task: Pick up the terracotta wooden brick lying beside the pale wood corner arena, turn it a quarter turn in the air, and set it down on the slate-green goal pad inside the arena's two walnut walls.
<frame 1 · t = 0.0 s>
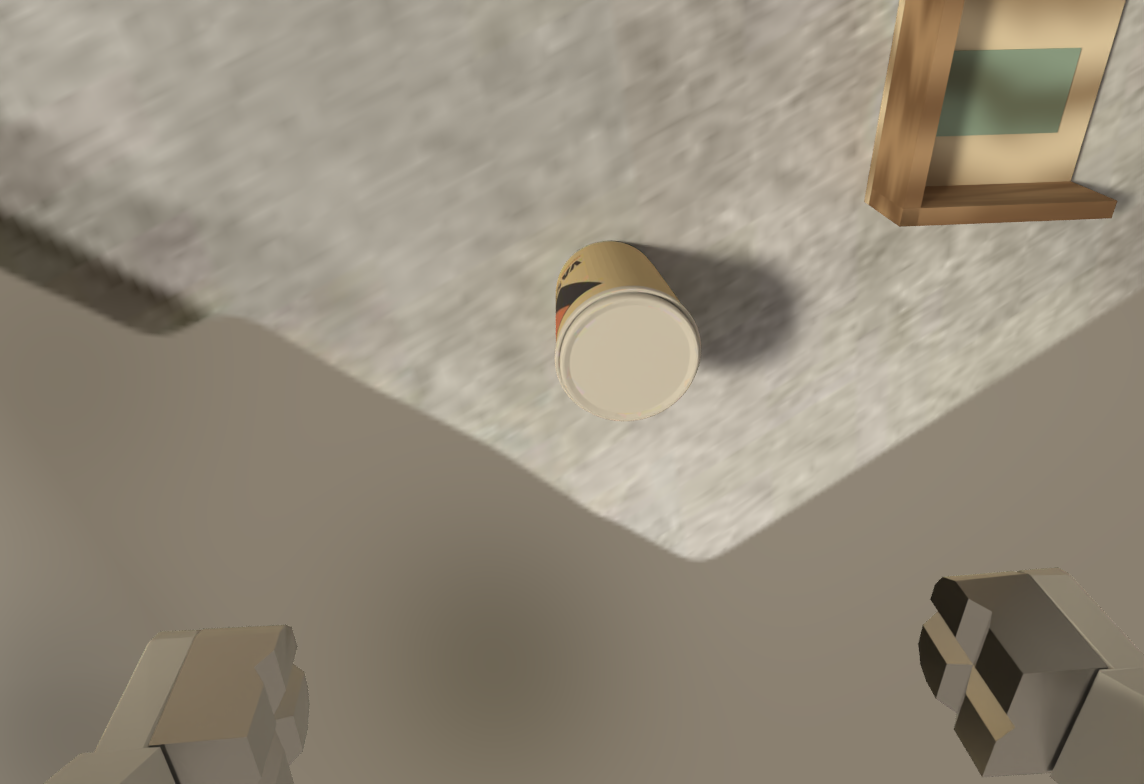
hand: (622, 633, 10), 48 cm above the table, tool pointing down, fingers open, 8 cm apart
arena: (989, 83, 54), on the table
coffee cup: (606, 287, 60), on the table
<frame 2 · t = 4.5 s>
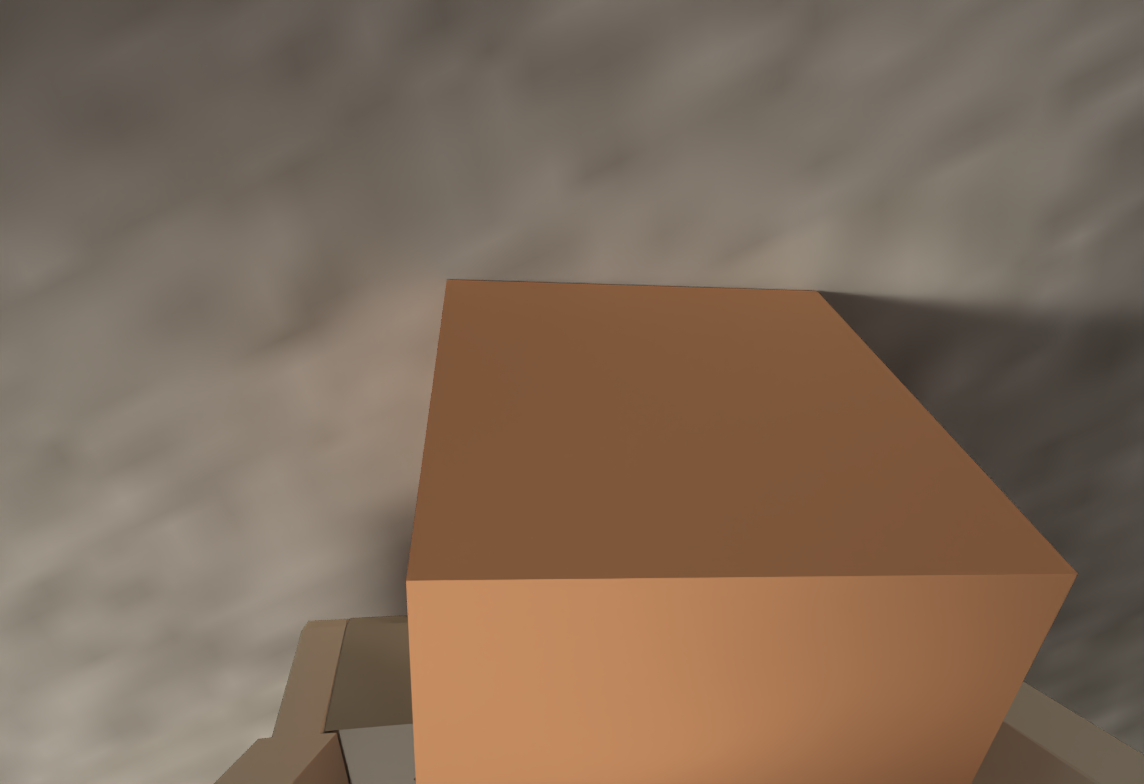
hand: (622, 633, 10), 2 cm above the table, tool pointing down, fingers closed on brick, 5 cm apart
brick: (606, 543, 11), on the table, touching gripper
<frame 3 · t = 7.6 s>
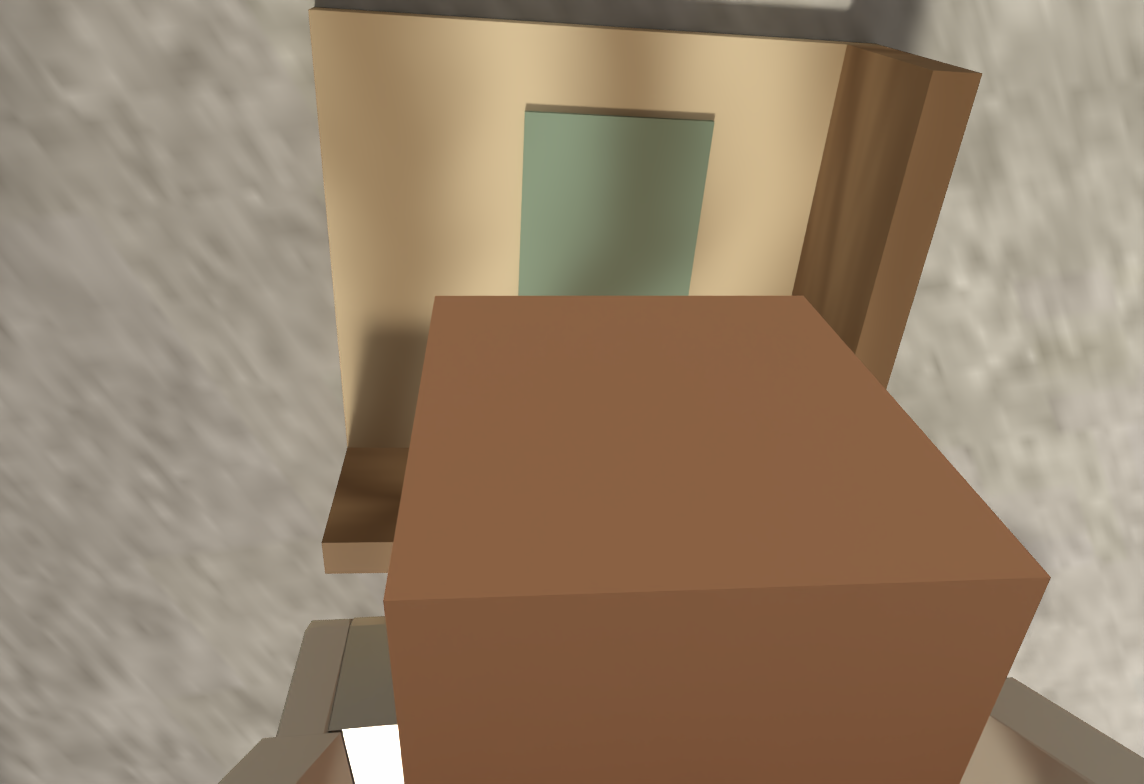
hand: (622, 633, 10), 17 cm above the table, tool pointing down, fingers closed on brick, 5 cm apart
brick: (604, 550, 11), point 16 cm above the table, touching gripper
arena: (586, 275, 26), on the table
when the fingers open (4 cm above the table, at t = 10.3 s): brick drops 1 cm, resting on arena.
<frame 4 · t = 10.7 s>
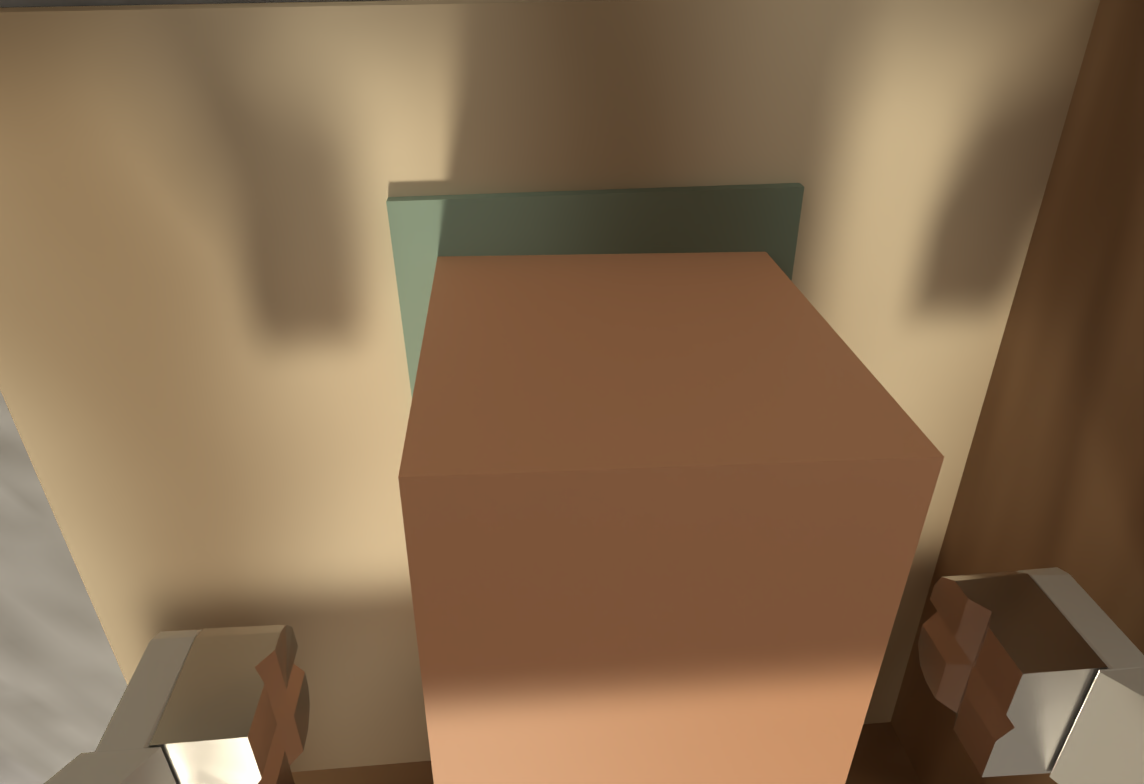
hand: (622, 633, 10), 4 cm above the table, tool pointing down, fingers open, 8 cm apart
brick: (595, 490, 13), point 1 cm above the table, touching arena
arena: (562, 477, 14), on the table
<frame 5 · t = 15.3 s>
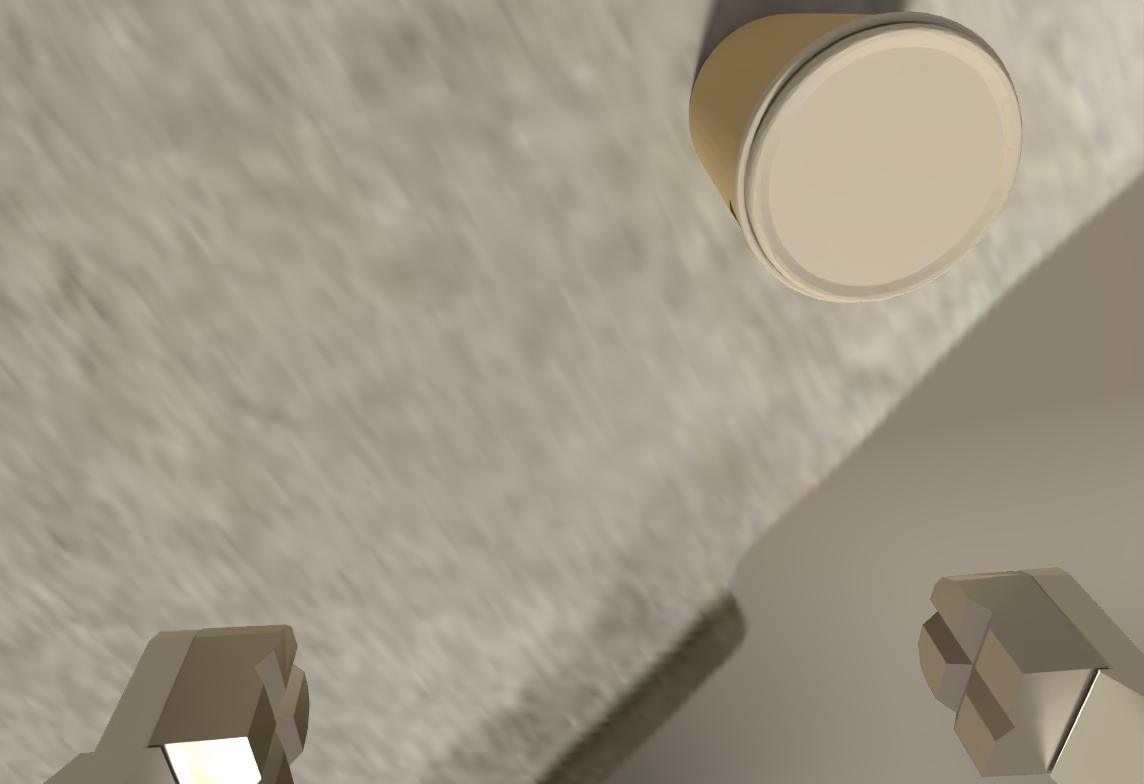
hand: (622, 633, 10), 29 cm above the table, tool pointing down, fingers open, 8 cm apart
coffee cup: (770, 106, 36), on the table
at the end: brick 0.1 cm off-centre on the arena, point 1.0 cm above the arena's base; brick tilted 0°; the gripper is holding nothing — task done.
